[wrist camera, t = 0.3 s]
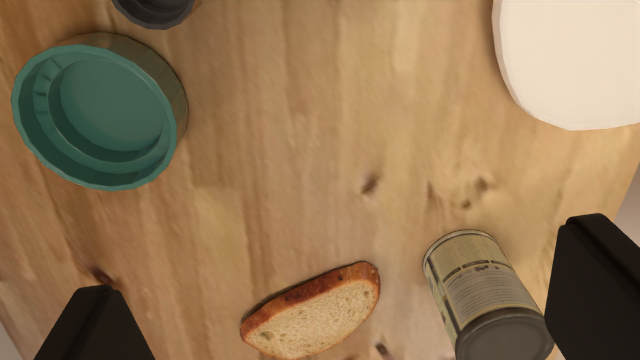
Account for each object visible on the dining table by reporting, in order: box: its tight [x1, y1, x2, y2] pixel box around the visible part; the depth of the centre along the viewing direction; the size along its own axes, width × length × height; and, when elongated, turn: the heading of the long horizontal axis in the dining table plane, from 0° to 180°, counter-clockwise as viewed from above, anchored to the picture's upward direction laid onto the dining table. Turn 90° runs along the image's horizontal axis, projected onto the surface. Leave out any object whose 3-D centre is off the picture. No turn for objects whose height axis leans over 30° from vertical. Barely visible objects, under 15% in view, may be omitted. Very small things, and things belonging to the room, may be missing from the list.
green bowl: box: [11, 32, 188, 191], centre depth 42 cm, size 14×14×6 cm
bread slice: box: [240, 262, 380, 360], centre depth 59 cm, size 18×18×4 cm
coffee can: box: [423, 230, 555, 360], centre depth 51 cm, size 10×10×14 cm
